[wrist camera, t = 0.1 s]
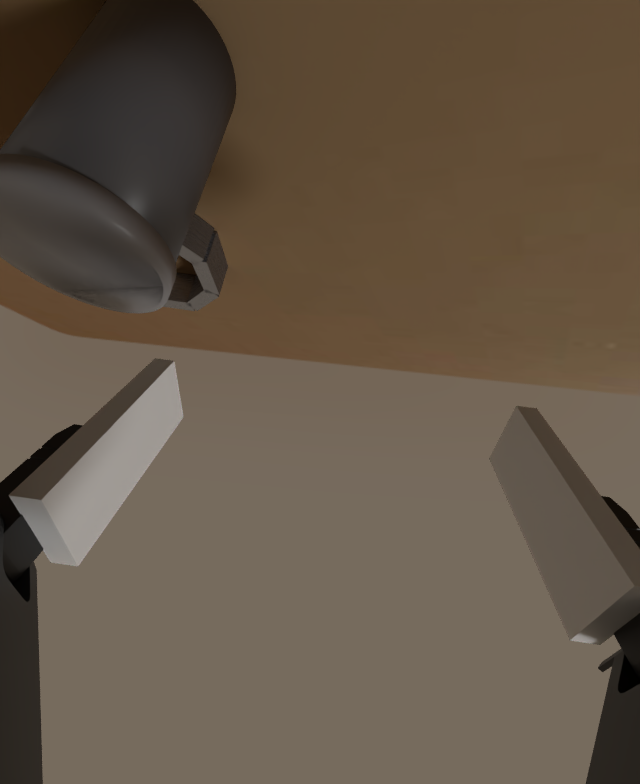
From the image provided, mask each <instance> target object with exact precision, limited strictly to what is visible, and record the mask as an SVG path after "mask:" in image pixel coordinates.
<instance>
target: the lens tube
mask: <svg viewBox="0 0 640 784" xmlns="http://www.w3.org/2000/svg"><path fill="white" fill-rule="evenodd" d="M235 99H236V81H235V74H234V69H233V65H232V62H231V59H230V56H229V53H228V51H227V48H226V46H225V44H224V42H223V40H222V38H221V36H220V34H219V33H218V31H217V29H216V28H215V26H214V25H213V23H212V22H211V21H210V19H209V18H208V17H207V15H206V14H205V13H204V12H203V11H202V9H201V8H200V7H199V6H198V5H197V4H196V3H195V2H194V1H193V0H107V1H106V2H105V4H104V5H103V7H102V8H101V9H100V11H99V12H98V14H97V15H96V16H95V18H94V19H93V21H92V22H91V23H90V25H89V26H88V28H87V29H86V30H85V32H84V33H83V35H82V36H81V37H80V39H79V40H78V42H77V43H76V44H75V46H74V47H73V49H72V50H71V51H70V53H69V54H68V56H67V57H66V58H65V60H64V61H63V63H62V64H61V65H60V67H59V68H58V70H57V71H56V72H55V74H54V75H53V77H52V78H51V79H50V81H49V82H48V84H47V85H46V86H45V88H44V89H43V91H42V92H41V93H40V95H39V96H38V98H37V99H36V100H35V102H34V103H33V105H32V106H31V107H30V109H29V110H28V112H27V113H26V114H25V116H24V117H23V119H22V120H21V121H20V123H19V124H18V126H17V127H16V128H15V130H14V131H13V133H12V134H11V135H10V137H9V138H8V140H7V141H6V142H5V144H4V145H3V147H2V148H1V149H0V257H1V258H3V259H4V260H6V261H7V262H8V263H10V264H11V265H12V266H14V267H15V268H17V269H18V270H20V271H22V272H23V273H25V274H26V275H28V276H30V277H31V278H33V279H35V280H36V281H38V282H40V283H42V284H44V285H46V286H48V287H50V288H52V289H54V290H56V291H58V292H60V293H62V294H64V295H67V296H69V297H71V298H74V299H77V300H79V301H82V302H85V303H88V304H90V305H94V306H97V307H101V308H104V309H109V310H113V311H119V312H126V313H147V312H153V311H155V310H158V309H160V308H161V307H163V306H164V305H165V304H166V302H167V300H168V298H169V296H170V293H171V290H172V287H173V285H174V282H175V279H176V274H177V271H176V261H177V258H178V256H179V253H180V250H181V248H182V245H183V242H184V240H185V237H186V234H187V232H188V229H189V226H190V224H191V221H192V218H193V216H194V213H195V210H196V208H197V205H198V202H199V200H200V197H201V194H202V192H203V189H204V186H205V184H206V181H207V178H208V176H209V173H210V170H211V168H212V165H213V162H214V159H215V157H216V154H217V151H218V149H219V146H220V143H221V141H222V138H223V135H224V133H225V130H226V127H227V125H228V122H229V119H230V117H231V114H232V111H233V108H234V104H235Z"/></svg>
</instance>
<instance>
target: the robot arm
mask: <svg viewBox="0 0 640 784" xmlns="http://www.w3.org/2000/svg"><path fill="white" fill-rule="evenodd" d="M182 418H183V411H182V405H181V399H180V393H179V386H178V381H177V374H176V368H175V362H174V361H171V360H163V359H154V360H153V361H152V362H151V363H150V364H149V365H148V366H146V367H145V368H144V369H143V370H142V371H141V372H140V373H139V374H138V375H137V376H136V377H135V378H133V379H132V380H131V381H130V382H129V383H128V384H127V385H126V386H125V387H124V388H123V389H122V390H121V391H120V392H118V393H117V394H116V396H114V397H113V398H112V399H111V400H110V401H109V402H108V403H107V404H106V405H105V406H103V408H101V409H100V410H99V411H98V412H97V413H96V414H95V415H94V416H93V417H92V418H91V419H90V420H88V421H87V422H86V423H85V424H84V425H83V426H82V425H75V424H74V425H72V426H70V427H68V428H66V429H64V430H63V431H61V432H59V433H57V434H55V435H54V436H53V437H52V438H51V439H50V440H48V441H47V442H46V443H45V444H44V445H43V446H42V448H41V449H39V450H37V451H36V452H35V453H34V454H33V455H31V458H30V459H27V460H26V461H25V462H23V464H21V465H20V466H19V467H18V468H17V469H15V471H13V472H12V473H11V474H10V475H9V476H7V477H6V478H5V479H4V480H3V481H2V482H1V483H0V784H43V780H42V745H41V710H40V680H39V679H40V677H39V644H38V643H39V642H38V609H37V608H38V606H37V574H36V567H35V564H34V562H33V561H34V560H35V559H36V558H37V556H38V555H39V554H40V553H41V551H42V550H43V551H44V553H45V554H46V556H47V557H48V559H49V560H50V562H52V563H58V564H65V565H72V566H79V564H80V563H81V562H82V560H83V559H84V557H85V556H86V554H87V553H88V552H89V550H90V549H91V547H92V546H93V544H94V543H95V542H96V540H97V539H98V537H99V536H100V535H101V533H102V532H103V530H104V529H105V528H106V526H107V525H108V523H109V522H110V520H111V519H112V517H113V516H114V515H115V513H116V512H117V511H118V509H119V508H120V506H121V505H122V503H123V502H124V501H125V499H126V498H127V496H128V494H130V492H131V491H132V489H133V488H134V486H135V485H136V483H137V482H138V481H139V479H140V478H141V476H142V475H143V474H144V472H145V471H146V469H147V468H148V467H149V465H150V464H151V462H152V461H153V459H154V458H155V457H156V455H157V454H158V452H159V451H160V450H161V448H162V447H163V445H164V444H165V442H166V441H167V440H168V438H169V437H170V435H171V434H172V432H173V431H174V429H175V428H176V427H177V425H178V424H179V423H180V421H181V419H182ZM489 459H490V462H491V464H492V466H493V468H494V471H495V473H496V475H497V477H498V479H499V482H500V484H501V486H502V489H503V491H504V493H505V495H506V498H507V500H508V502H509V504H510V507H511V509H512V511H513V513H514V516H515V518H516V520H517V522H518V525H519V527H520V529H521V531H522V533H523V536H524V538H525V540H526V542H527V545H528V547H529V549H530V552H531V554H532V556H533V558H534V560H535V563H536V565H537V567H538V570H539V571H540V574H541V576H542V578H543V581H544V583H545V585H546V588H547V590H548V592H549V594H550V596H551V599H552V601H553V603H554V606H555V608H556V610H557V612H558V615H559V617H560V619H561V621H562V623H563V626H564V628H565V630H566V633H567V634H568V637H569V639H570V640H571V641H577V642H584V643H590V644H597V645H600V644H602V643H603V642H604V641H606V640H607V639H608V638H610V637H611V636H612V635H615V637H616V639H617V641H618V643H619V644H620V646H621V648H622V649H620V650H619V651H617V652H616V653H614V654H613V655H612V656H610V657H609V658H607V659H606V660H604V661H603V662H602V663H601V664H600V666H599V667H598V669H599V670H601V671H602V672H604V671H605V670H607V669H608V668H610V667H612V670H611V675H610V679H609V683H608V688H607V692H606V697H605V701H604V706H603V710H602V714H601V719H600V723H599V727H598V732H597V736H596V741H595V745H594V750H593V754H592V759H591V763H590V767H589V772H588V777H587V781H586V784H640V528H639V527H638V526H637V525H636V523H635V522H634V520H633V519H632V518H631V517H630V515H629V514H628V513H627V512H626V511H625V510H624V509H623V508H621V507H620V506H619V505H617V503H616V502H614V501H613V500H612V499H611V498H610V497H603V496H601V495H600V494H599V493H598V491H597V490H596V489H595V487H594V486H593V485H592V483H591V482H590V481H589V479H588V478H587V476H586V475H585V474H584V472H583V471H582V470H581V468H580V467H579V466H578V464H577V463H576V461H575V460H574V459H573V457H572V456H571V454H570V453H569V452H568V450H567V449H566V448H565V446H564V445H563V444H562V442H561V441H560V440H559V438H558V437H557V435H556V434H555V433H554V431H553V430H552V429H551V427H550V426H549V425H548V423H547V422H546V420H545V419H544V418H543V416H542V415H541V414H540V412H539V411H538V410H537V408H528V407H521V406H516V407H515V409H514V411H513V413H512V415H511V417H510V419H509V421H508V423H507V425H506V427H505V429H504V431H503V433H502V434H501V436H500V438H499V440H498V442H497V444H496V446H495V448H494V450H493V452H492V454H491V456H490V458H489Z"/></svg>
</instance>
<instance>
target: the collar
mask: <svg viewBox="0 0 640 784" xmlns="http://www.w3.org/2000/svg"><path fill="white" fill-rule="evenodd" d="M179 255H180V256H181V257H183V258H184V259H186V260H187V261H189V262H190V263H192V265H193V267H194V269H195V271H196V273H197V275H196V276H194V275H187V274H180V273H177V274H176V279H175V282H174V285H173V287H172V290H171V293H170V296H169V298H168V300H167V302H166V304H165V305H164V306H163V307H170V308H177V309H184V310H191V311H195V310H197V311H198V310H199V309H201V308H202V307H204V306H205V305H207V304H208V303H210V302H211V301H213V300H214V299H216V298H218V297H219V294H220V291H221V288H222V284H223V281H224V278H225V274H226V271H227V268H228V265H227V262H226V259H225V256H224V253H223V249H222V246H221V243H220V240H219V237H218V234H217V232H216V231H214V228H213V227H212V226H210V225H209V224H208V223H207V222H205V221H204V220H203V219H201V218H200V217H199V216H197V215H196V214H195V213H194V216H193V218H192V221H191V224H190V226H189V229H188V232H187V234H186V237H185V240H184V242H183V245H182V248H181V250H180V253H179Z"/></svg>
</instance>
